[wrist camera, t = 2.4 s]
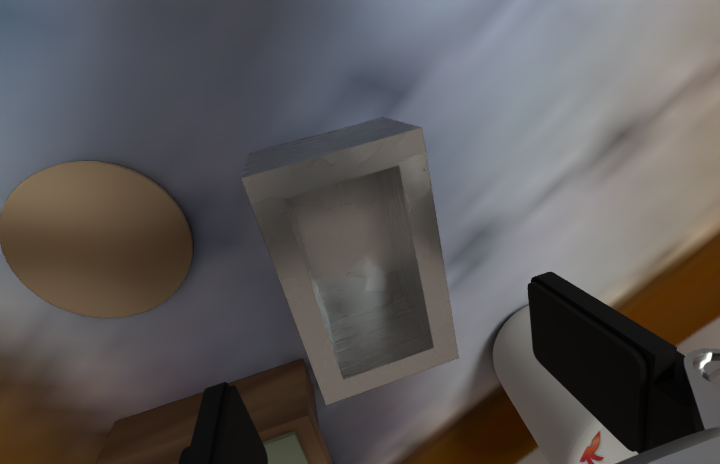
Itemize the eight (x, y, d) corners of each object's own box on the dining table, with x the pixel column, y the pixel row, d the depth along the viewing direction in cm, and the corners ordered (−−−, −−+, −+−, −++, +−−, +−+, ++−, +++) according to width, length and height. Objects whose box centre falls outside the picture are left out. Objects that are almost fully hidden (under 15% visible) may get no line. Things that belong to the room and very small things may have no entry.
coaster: (-36, 188, 14) (-44, 191, 14) (151, 140, 15) (148, 141, 14) (64, 332, 17) (60, 338, 16) (217, 285, 18) (216, 290, 17)
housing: (250, 152, 16) (240, 178, 11) (381, 116, 17) (421, 127, 12) (314, 333, 20) (326, 405, 15) (417, 298, 21) (458, 357, 16)
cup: (641, 291, 24) (802, 380, 17) (590, 388, 26) (711, 503, 19) (500, 273, 21) (620, 373, 14) (457, 385, 23) (540, 519, 16)
